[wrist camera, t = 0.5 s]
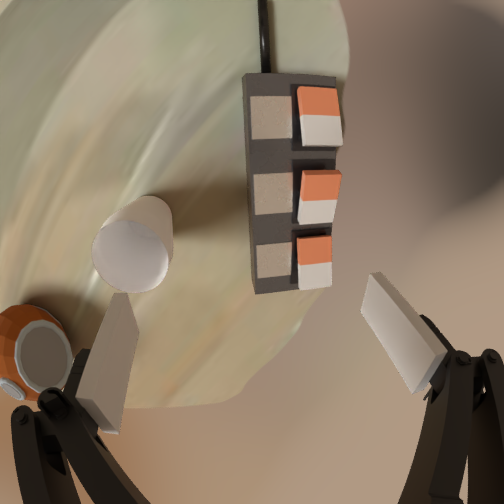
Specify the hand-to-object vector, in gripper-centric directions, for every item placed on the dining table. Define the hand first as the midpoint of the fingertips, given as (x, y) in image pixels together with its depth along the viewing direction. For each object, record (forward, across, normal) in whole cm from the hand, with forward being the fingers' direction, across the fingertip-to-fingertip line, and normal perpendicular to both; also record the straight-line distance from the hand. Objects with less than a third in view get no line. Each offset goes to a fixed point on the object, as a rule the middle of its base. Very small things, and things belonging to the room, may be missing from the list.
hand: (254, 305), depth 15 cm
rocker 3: (+21, +11, -10) cm, 25 cm away
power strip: (+26, +8, +6) cm, 28 cm away
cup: (+26, -11, -4) cm, 29 cm away
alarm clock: (+26, -40, -25) cm, 54 cm away
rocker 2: (+20, +11, 0) cm, 23 cm away
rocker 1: (+20, +10, +9) cm, 25 cm away
